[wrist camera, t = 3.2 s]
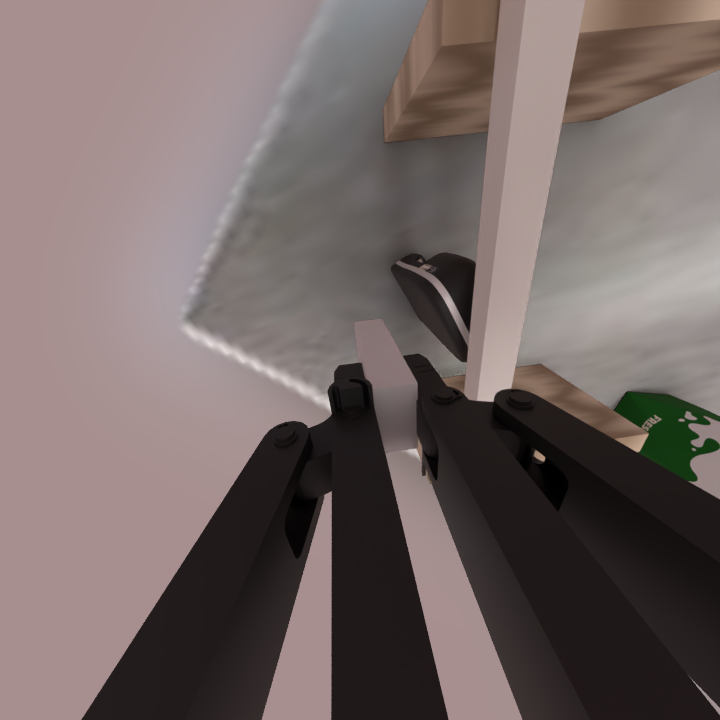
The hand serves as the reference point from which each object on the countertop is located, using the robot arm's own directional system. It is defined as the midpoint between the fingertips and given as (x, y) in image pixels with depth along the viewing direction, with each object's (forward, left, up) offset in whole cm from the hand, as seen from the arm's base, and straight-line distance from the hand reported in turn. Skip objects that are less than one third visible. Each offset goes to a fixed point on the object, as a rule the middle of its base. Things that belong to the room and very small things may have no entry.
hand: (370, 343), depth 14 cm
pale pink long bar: (-7, 0, -1) cm, 7 cm away
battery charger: (-7, 0, -13) cm, 15 cm away
